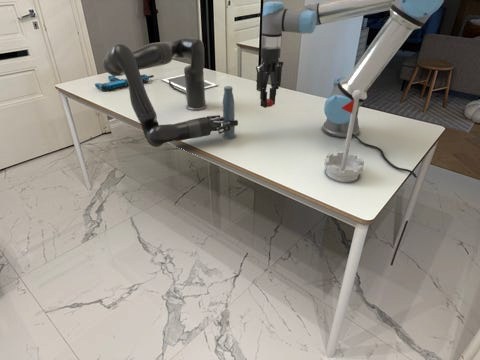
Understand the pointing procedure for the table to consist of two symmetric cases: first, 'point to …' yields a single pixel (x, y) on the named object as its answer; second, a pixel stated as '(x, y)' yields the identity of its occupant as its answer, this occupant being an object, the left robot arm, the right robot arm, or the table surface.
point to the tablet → (180, 82)
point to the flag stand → (346, 151)
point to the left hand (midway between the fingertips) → (234, 120)
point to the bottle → (228, 110)
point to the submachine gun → (118, 82)
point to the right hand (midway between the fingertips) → (267, 105)
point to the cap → (269, 102)
